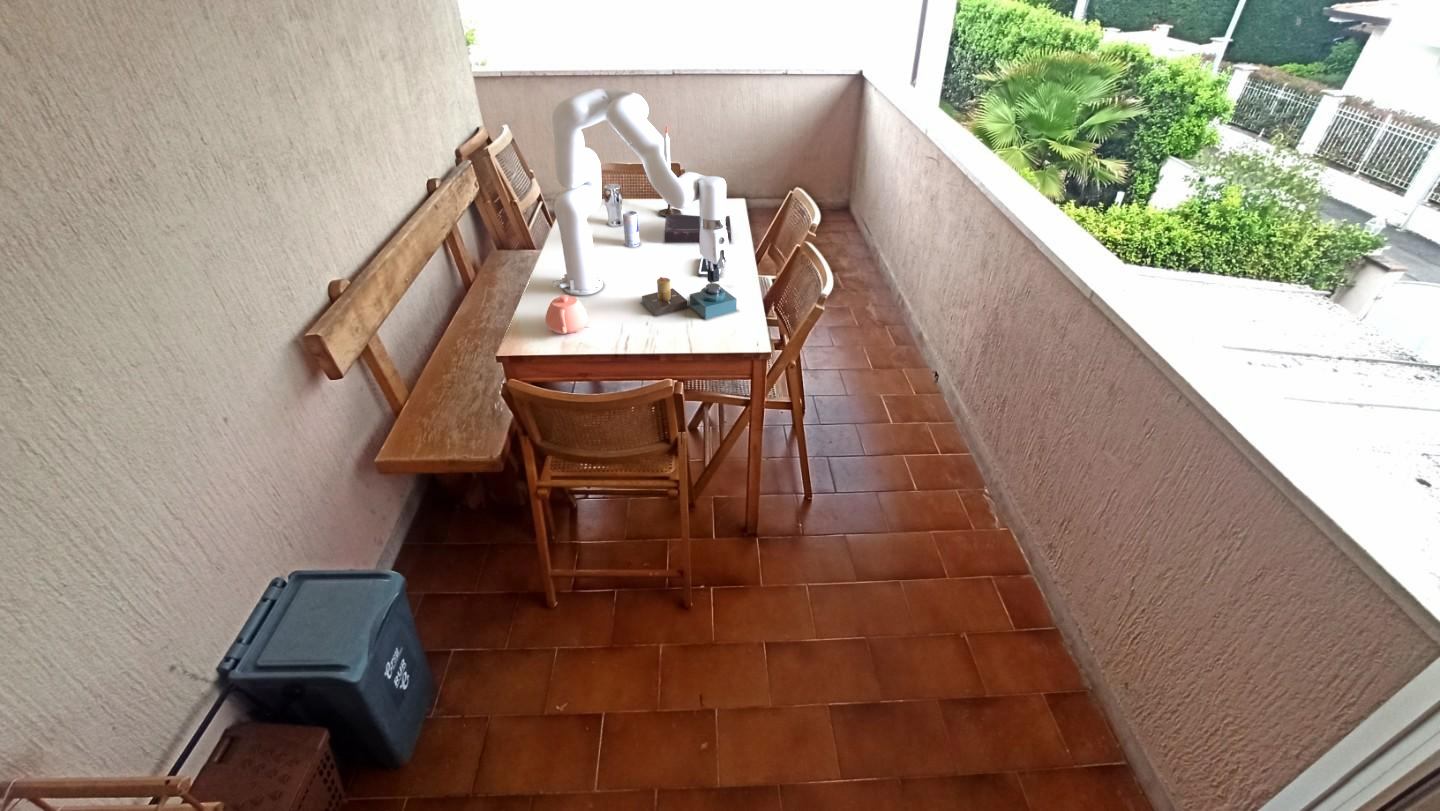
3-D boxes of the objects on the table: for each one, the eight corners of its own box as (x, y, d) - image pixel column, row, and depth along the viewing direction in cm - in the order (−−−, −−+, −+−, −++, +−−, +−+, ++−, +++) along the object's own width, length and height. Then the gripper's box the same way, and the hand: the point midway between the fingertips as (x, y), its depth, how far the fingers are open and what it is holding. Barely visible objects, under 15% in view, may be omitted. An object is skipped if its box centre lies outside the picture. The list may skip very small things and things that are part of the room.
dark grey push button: (710, 296, 195) (710, 290, 193) (703, 291, 198) (703, 285, 196) (722, 293, 196) (722, 287, 195) (715, 287, 199) (715, 281, 198)
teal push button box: (705, 319, 195) (705, 301, 191) (689, 306, 202) (689, 288, 198) (736, 311, 199) (736, 293, 196) (719, 298, 206) (720, 281, 202)
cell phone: (698, 276, 219) (698, 273, 218) (701, 258, 231) (701, 256, 230) (720, 277, 218) (720, 274, 218) (722, 259, 230) (722, 256, 230)
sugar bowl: (591, 317, 195) (587, 286, 189) (585, 340, 184) (581, 309, 178) (551, 317, 195) (546, 287, 189) (542, 341, 184) (536, 309, 178)
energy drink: (640, 242, 243) (638, 211, 236) (638, 247, 239) (635, 216, 232) (627, 241, 244) (624, 210, 237) (623, 247, 239) (621, 215, 232)
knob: (673, 299, 200) (672, 280, 196) (661, 302, 198) (660, 283, 194) (667, 294, 203) (666, 275, 199) (655, 297, 201) (654, 278, 197)
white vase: (604, 222, 260) (600, 184, 251) (621, 219, 262) (617, 182, 253) (609, 228, 255) (606, 190, 246) (626, 225, 257) (623, 187, 248)
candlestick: (672, 207, 274) (669, 120, 253) (688, 214, 267) (685, 125, 246) (651, 213, 268) (646, 124, 248) (666, 220, 261) (662, 129, 241)
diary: (731, 244, 242) (731, 231, 239) (664, 244, 241) (664, 231, 238) (729, 226, 257) (729, 213, 254) (666, 226, 256) (666, 214, 254)
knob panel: (656, 316, 196) (655, 308, 195) (642, 303, 203) (641, 295, 202) (687, 307, 201) (687, 300, 199) (673, 295, 208) (672, 287, 206)
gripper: (737, 227, 180) (736, 287, 191) (711, 212, 191) (711, 269, 201) (714, 233, 177) (715, 293, 188) (688, 216, 188) (690, 274, 198)
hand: (713, 281), depth 195 cm, fingers closed
